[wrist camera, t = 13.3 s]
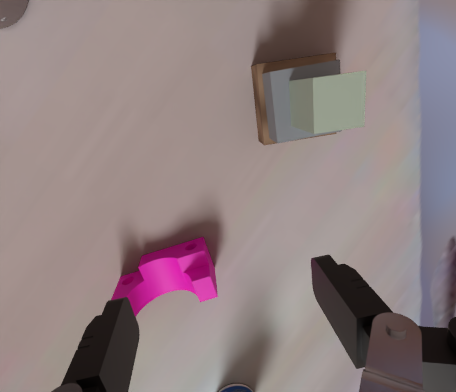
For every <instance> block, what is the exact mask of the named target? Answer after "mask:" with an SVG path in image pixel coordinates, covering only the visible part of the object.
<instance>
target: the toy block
mask: <svg viewBox="0 0 456 392" xmlns="http://www.w3.org/2000/svg"><path fill="white" fill-rule="evenodd" d="M138 268H139V270H140V271H137V272H134V273H131V274H127V275H124V276H121V277H120V279H119V282H118V284H117V287H116V289H115V292H114V294H113V297H112V299H111V300H114V299H119V298H123V297H127V298H128V299H129V301H130V304H131V307H132V309H133V312H134V315H135V317H136V315H137V314H138V313H139V311H140V310H141V309H142V308H143V307H144V306H145V305H146V304H148V303H149V302H150V301H152V300H153V299H155V298H156V297H158V296H160V295H162V294H165V293H167V292H170V291H175V290H188V291H191V292H193V293H195V294H196V295H197V296H198V298H199V301H200V302H202V301H205V300H209V299H212V298H215V297H218V295H217V285H216V276H215V268H214V265H213V262H212V259H211V257H210V254H209V251H208V248H207V246H206V243H205V240H204V237H201V238H198V239H194V240H191V241H188V242H185V243H182V244H178V245H175V246H172V247H169V248H165V249H162V250H159V251H156V252H152V253H149V254H146V255H143V256H142V257H141V260H140V263H139V266H138Z"/></svg>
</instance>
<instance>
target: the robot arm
mask: <svg viewBox="0 0 456 392" xmlns="http://www.w3.org/2000/svg"><path fill="white" fill-rule="evenodd" d="M27 3H28V0H0V29H2V28H5V27H9V26H11V25H13V24H14V23H16V22H17V21H18V20H19V19H20V18H21V17H22V15H23V13H24V12H25V10H26V6H27ZM311 269H312V284H313V291H314V294H315V297H316V300H317V302H318V303H319V305H320V307H321V309H322V310H323V312H324V314H325V316H326V317H327V319H328V321H329V322H330V324H331V326H332V328H333V329H334V331H335V333H336V334H337V336H338V338H339V340H340V341H341V343H342V345H343V346H344V348H345V350H346V352H347V353H348V355H349V357H350V359H351V360H352V362H353V364H354V365H355V367H356V369H358V368H363V367H365V369H363V372H362V377H361V383H360V389H359V392H456V317H454V318H452V319H451V320H450V322H449V325H448V328H436V327H422V326H418V325H417V324H416V323H415V322H414V321H412V320H411V319H409V318H408V317H406V316H403V315H401V314H397V313H393V312H392V311H391V309H390V308H389V307H388V306H387V305H386V304H385V303H384V302H383V300H382V299H381V298H380V297H379V296H378V295H377V294H376V293H375V291H374V290H373V289H372V288H371V287H369V285H368V284H367V282H366V281H365V280H363V278H362V277H361V276H360V275H359V273H358V272H357V271H356V270H355V269H353V268H351V267H349V266H348V265H346V264H340V265H338V264H337V263H336V262H335V261H334V260H333V258H332V257H331V256H330V255H324V256H320V257H315V258H312V259H311ZM138 342H139V326H138V323H137V320H136V317H135V315H134V312H133V309H132V307H131V304H130V301H129V299H128V298H127V297H123V298H119V299H114V300H109V301H108V302H107V303H106V305H105V308H104V310H103V313H102V315H99V316H96V317H95V318H94V319H93V320H92V321H91V323H90V324H89V325H88V326H87V327H86V330H85V332H84V334H83V336H82V340H81V341H80V343H79V346H78V350H76V352H75V355H74V357H73V359H72V361H71V364H70V366H69V368H68V370H67V373H66V375H65V377H64V379H63V382H62V384H61V386H60V387H58V388H56V389H55V390H53V391H52V392H128V389H129V384H130V380H131V375H132V370H133V366H134V361H135V356H136V351H137V347H138Z"/></svg>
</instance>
